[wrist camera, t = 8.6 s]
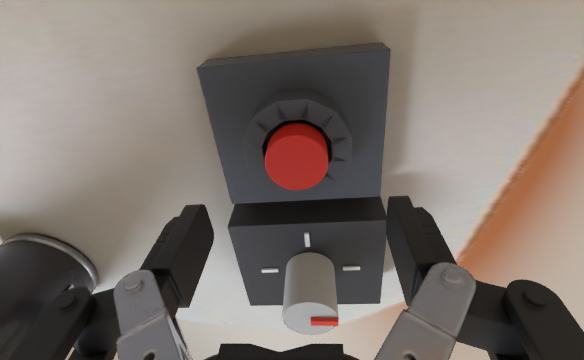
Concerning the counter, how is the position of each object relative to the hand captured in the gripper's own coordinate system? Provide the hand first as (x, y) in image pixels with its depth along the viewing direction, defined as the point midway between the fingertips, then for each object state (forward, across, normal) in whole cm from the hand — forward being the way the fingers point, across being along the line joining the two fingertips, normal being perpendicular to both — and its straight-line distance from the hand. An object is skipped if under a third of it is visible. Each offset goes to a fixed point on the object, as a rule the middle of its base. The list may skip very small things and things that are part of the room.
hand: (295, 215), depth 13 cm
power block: (+10, 0, 0) cm, 10 cm away
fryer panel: (+10, 0, +12) cm, 15 cm away
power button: (+6, 0, 0) cm, 6 cm away
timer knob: (+7, 0, +11) cm, 13 cm away
